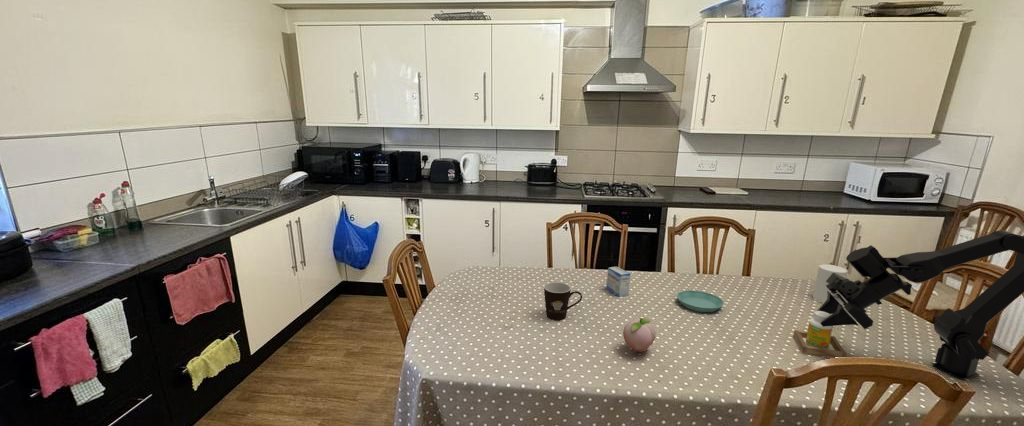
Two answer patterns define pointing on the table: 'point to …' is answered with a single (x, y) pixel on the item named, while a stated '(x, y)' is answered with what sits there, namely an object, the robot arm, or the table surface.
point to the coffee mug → (558, 300)
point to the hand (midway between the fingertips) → (818, 320)
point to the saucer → (700, 301)
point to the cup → (822, 276)
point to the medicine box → (618, 281)
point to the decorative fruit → (639, 334)
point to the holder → (831, 352)
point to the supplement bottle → (819, 331)
